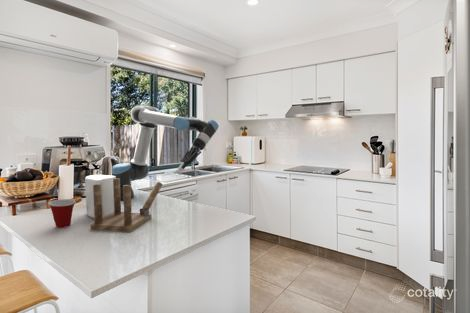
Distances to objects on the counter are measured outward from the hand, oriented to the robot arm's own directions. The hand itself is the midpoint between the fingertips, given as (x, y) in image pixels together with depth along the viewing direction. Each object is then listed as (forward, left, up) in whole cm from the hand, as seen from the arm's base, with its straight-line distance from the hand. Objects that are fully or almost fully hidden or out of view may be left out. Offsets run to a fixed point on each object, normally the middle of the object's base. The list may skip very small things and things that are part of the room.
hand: (178, 172), depth 151 cm
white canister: (+27, -33, -22) cm, 49 cm away
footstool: (+30, -9, -22) cm, 39 cm away
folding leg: (+21, -5, -18) cm, 28 cm away
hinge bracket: (+21, -5, -20) cm, 29 cm away
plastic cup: (+46, -31, -22) cm, 60 cm away
